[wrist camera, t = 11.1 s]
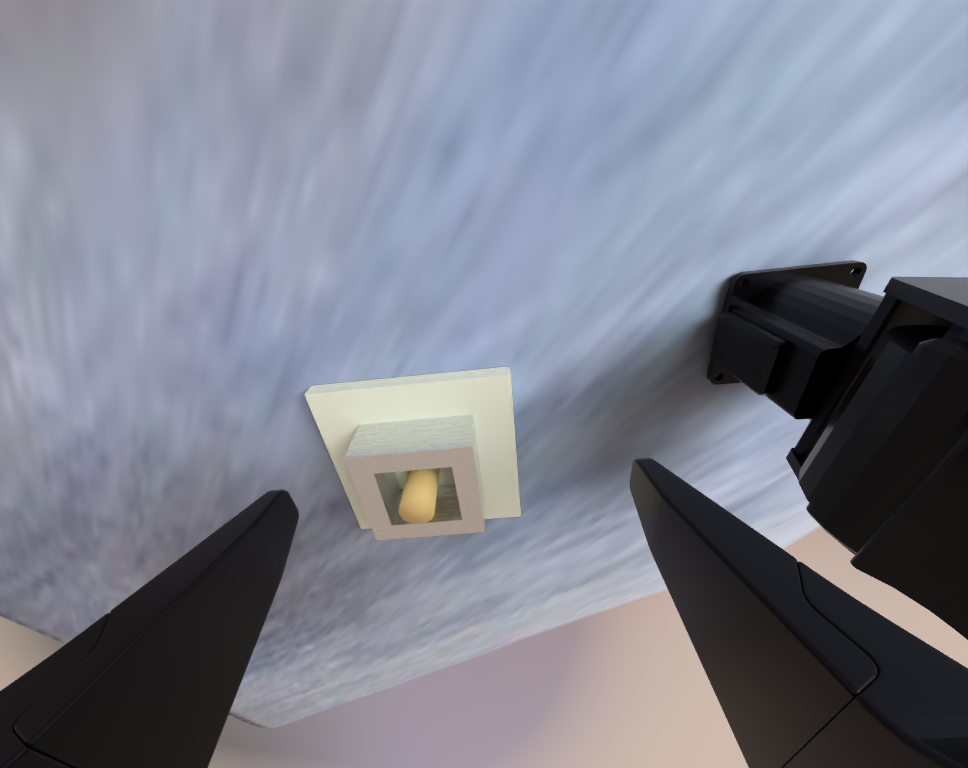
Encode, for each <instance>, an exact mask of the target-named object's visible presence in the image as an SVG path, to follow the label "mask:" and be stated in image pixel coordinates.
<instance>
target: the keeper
mask: <svg viewBox="0 0 968 768" xmlns="http://www.w3.org/2000/svg"><path fill="white" fill-rule="evenodd" d="M304 395H305V397H306V400H307V402H308V404H309V407H310V409H311V411H312V414H313V416H314V419H315V421H316V423H317V426H318V428H319V430H320V433H321V435H322V437H323V440H324V442H325V445H326V447H327V449H328V452H329V454H330V456H331V459H332V461H333V463H334V466H335V468H336V471H337V473H338V475H339V478H340V480H341V482H342V485H343V487H344V489H345V492H346V494H347V497H348V499H349V501H350V504H351V506H352V508H353V511H354V513H355V516H356V518H357V520H358V523H359V525H360V527H361V529H370V528H371V526H370V523H369V521H368V518H367V516H366V513H365V511H364V508H363V506H362V503H361V500H360V498H359V495H358V493H357V490H356V488H355V485H354V483H353V480H352V478H351V475H350V473H349V470H348V468H347V465H346V463H345V460H344V456H345V454H346V452H347V450H348V448H349V446H350V444H351V442H352V440H353V438H354V435H355V433H356V431H357V429H358V427H359V425H360V424H371V423H382V422H393V421H405V420H416V419H427V418H438V417H449V416H460V415H471V414H473V417H474V424H475V431H476V438H477V445H478V452H479V459H480V467H481V474H482V481H483V488H484V495H485V519H493V518H506V517H518V516H521V511H520V497H519V483H518V470H517V456H516V442H515V429H514V415H513V401H512V387H511V374H510V368H509V367H499V368H488V369H478V370H468V371H458V372H447V373H437V374H427V375H417V376H406V377H396V378H386V379H376V380H365V381H355V382H345V383H334V384H324V385H314V386H311V387H310V388H309V389H308V391H307V392H306V393H305V394H304ZM396 475H397V478H398V481H399V485H400V488H401V489H403V494H402V498H401V502H400V506H399V515H400V516H401V518H402V519H403V520H405V521H407V522H409V523H413V524H423V523H426V522H428V521H430V520H431V519H432V518H433V517H434V513H435V505H436V497H437V489H438V486H440V485H452V484H455V480H454V475H453V470H452V467H446V468H434V469H423V470H411V471H399V472H396Z"/></svg>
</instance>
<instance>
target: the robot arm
mask: <svg viewBox="0 0 968 768" xmlns="http://www.w3.org/2000/svg"><path fill="white" fill-rule="evenodd" d="M853 269H854V270H853ZM866 269H867V266H866V264H865V263H864V262H859V261H853V260H852V261H843V262H833V263H824V264H814V265H805V266H795V267H786V268H776V269H767V270H757V271H748V272H740V273H738V274H736V275H734V276H733V278H732V279H731V281H730V283H729V287H728V291H727V295H726V299H725V303H724V307H723V311H722V315H721V317H720V319H719V323H718V327H717V331H716V335H715V339H714V343H713V347H712V351H711V360H710V364H709V368H708V372H707V379H708V380H709V381H710V382H711V383H713V384H728V383H738V382H743V383H744V384H745V385H746V386H748V387H749V388H750V389H751V390H753V391H754V392H755V393H757V394H758V395H765V396H766V397H767V398H769V399H770V400H771V401H773V402H774V403H775V404H777V405H778V406H779V407H781V408H782V409H783V410H785V411H786V412H787V413H788V414H790V415H791V416H792V417H794V418H795V419H809V420H810V423H809V425H808V426H807V428H806V430H805V431H804V433H803V435H802V436H801V438H800V440H799V442H798V443H797V445H796V447H795V448H792V449H791V450H790V452H789V453H788V455H787V457H786V459H787V461H788V462H789V464H790V466H791V468H792V470H793V471H794V473H795V475H796V477H797V478H798V480H799V484H800V486H801V488H802V490H803V492H804V494H805V496H806V498H807V500H808V501H809V504H808V506H807V508H806V509H807V511H808V512H809V514H810V515H811V516H812V517H813V518H814V519H815V520H816V521H817V522H818V524H819V525H820V526H821V527H822V528H823V529H824V530H825V531H826V532H828V533H829V534H830V535H831V536H832V537H834V538H835V539H836V540H837V541H838V542H840V543H841V544H842V545H843V546H844V547H846V548H847V549H848V550H849V551H851V552H852V553H853V554H855V556H854V557H853V558H852V560H851V561H850V562H851V564H852V565H853V566H854V567H855V568H856V569H858V570H860V571H862V572H864V573H866V574H868V575H870V576H872V577H874V578H876V579H878V580H880V581H882V582H884V583H886V584H888V585H890V586H892V587H894V588H895V589H897V590H898V591H900V592H901V593H903V594H905V595H906V596H908V597H909V598H911V599H913V600H914V601H916V602H917V603H919V604H920V605H922V606H923V607H925V608H927V609H928V610H930V611H931V612H932V613H934V614H935V615H936V616H938V617H939V618H940V619H942V620H943V621H944V622H946V623H947V624H948V625H950V626H951V627H952V628H954V629H955V630H956V631H957V632H959V633H960V634H961V635H962V636H964V637H965V638H966V639H967V640H968V278H955V277H892V278H891V279H890V281H889V283H888V284H887V286H886V288H885V290H884V291H883V292H885V293H886V294H885V296H884V297H883V296H880V295H876V294H873V293H869V292H866V291H863V290H859V289H858V288H859V286H860V284H861V281H862V279H863V277H864V274H865V272H866ZM852 270H853V272H852V273H851V271H852ZM850 273H851V274H850ZM742 280H744V283H743V284H742V285H741V286H739V284H740V282H741V281H742ZM717 374H719V376H717V377H715V376H716V375H717ZM630 490H631V493H632V496H633V500H634V503H635V506H636V509H637V512H638V515H639V518H640V521H641V524H642V527H643V530H644V533H645V536H646V539H647V542H648V545H649V548H650V550H651V553H652V555H653V557H654V560H655V562H656V564H657V566H658V568H659V571H660V573H661V575H662V577H663V579H664V582H665V584H666V586H667V588H668V590H669V593H670V595H671V597H672V599H673V601H674V604H675V606H676V608H677V610H678V612H679V615H680V617H681V619H682V621H683V623H684V626H685V628H686V630H687V632H688V634H689V636H690V639H691V641H692V643H693V645H694V648H695V650H696V652H697V654H698V656H699V659H700V661H701V663H702V665H703V668H704V670H705V672H706V674H707V676H708V679H709V681H710V683H711V685H712V687H713V690H714V692H715V694H716V696H717V698H718V701H719V703H720V705H721V707H722V709H723V711H724V714H725V716H726V718H727V720H728V723H729V725H730V727H731V729H732V731H733V734H734V736H735V738H736V740H737V742H738V745H739V747H740V749H741V751H742V753H743V756H744V758H745V760H746V762H747V764H748V767H749V768H968V668H966V667H964V666H963V665H961V664H959V663H958V662H956V661H955V660H953V659H951V658H950V657H948V656H946V655H945V654H943V653H942V652H940V651H938V650H937V649H935V648H933V647H932V646H930V645H929V644H927V643H925V642H924V641H922V640H920V639H919V638H917V637H915V636H914V635H912V634H911V633H909V632H907V631H906V630H904V629H902V628H901V627H899V626H898V625H896V624H894V623H893V622H891V621H890V620H888V619H886V618H885V617H883V616H882V615H880V614H878V613H877V612H875V611H874V610H872V609H871V608H869V607H867V606H866V605H864V604H862V603H861V602H859V601H858V600H856V599H855V598H853V597H852V596H850V595H849V594H847V593H846V592H844V591H843V590H841V589H840V588H838V587H837V586H835V585H834V584H832V583H831V582H829V581H828V580H826V579H825V578H823V577H822V576H820V575H819V574H818V573H816V572H814V571H813V570H812V569H810V568H809V567H808V566H806V565H805V564H803V563H802V562H797V560H796V558H794V557H793V556H791V555H790V554H789V553H787V552H786V551H784V550H783V549H781V548H780V547H779V546H777V545H776V544H774V543H773V542H771V541H770V540H768V539H767V538H766V537H764V536H763V535H761V534H760V533H758V532H757V531H756V530H754V529H753V528H751V527H750V526H748V525H747V524H745V523H744V522H743V521H741V520H740V519H738V518H737V517H735V516H734V515H732V514H731V513H730V512H728V511H727V510H725V509H724V508H722V507H721V506H720V505H718V504H717V503H715V502H714V501H712V500H711V499H709V498H708V497H707V496H705V495H704V494H702V493H701V492H699V491H698V490H697V489H695V488H694V487H692V486H691V485H689V484H688V483H686V482H685V481H684V480H682V479H681V478H679V477H678V476H676V475H675V474H673V473H672V472H671V471H669V470H668V469H666V468H665V467H663V466H662V465H661V464H659V463H658V462H656V461H655V460H653V459H651V458H642V459H635V460H634V461H633V464H632V471H631V477H630ZM298 518H299V513H298V509H297V507H296V505H295V503H294V502H293V500H292V498H291V496H290V494H289V492H288V491H286V490H272V491H269V492H267V493H265V494H264V495H263V496H262V497H260V498H259V499H258V500H256V501H255V502H254V503H252V504H251V505H250V506H248V507H247V508H246V509H244V510H243V511H242V512H240V513H239V514H238V515H236V516H235V517H234V518H232V519H231V520H230V521H229V522H227V523H226V524H225V525H223V526H222V527H221V528H219V529H218V530H217V531H215V532H214V533H213V534H211V535H210V536H209V537H207V538H206V539H205V540H203V541H202V542H201V543H199V544H198V545H197V546H196V547H194V548H193V549H192V550H190V551H189V552H188V553H186V554H185V555H184V556H182V557H181V558H180V559H178V560H177V561H176V562H174V563H173V564H172V565H170V566H169V567H168V568H166V569H165V570H164V571H162V572H161V573H160V574H159V575H157V576H156V577H155V578H153V579H152V580H151V581H149V582H148V583H147V584H145V585H144V586H143V587H141V588H140V589H139V590H137V591H136V592H135V593H133V594H132V595H131V596H129V597H128V598H127V599H125V600H124V601H123V602H122V603H120V604H119V605H118V606H116V607H115V608H114V609H112V610H111V612H110V613H107V614H106V615H104V616H103V617H102V618H100V619H99V620H98V621H96V622H95V623H94V624H92V625H91V626H90V627H89V628H87V629H86V630H85V631H83V632H82V633H80V634H79V635H78V636H76V637H75V638H74V639H72V640H71V641H70V642H68V643H67V644H66V645H64V646H63V647H62V648H60V649H59V650H58V651H56V652H55V653H54V654H52V655H51V656H49V657H48V658H46V659H45V660H44V661H42V662H41V663H40V664H38V665H37V666H36V667H34V668H32V669H31V670H30V671H28V672H27V673H25V674H24V675H22V676H21V677H20V678H19V679H17V680H15V681H14V682H13V683H11V684H10V685H9V686H7V687H6V688H4V689H3V690H1V691H0V768H208V766H209V763H210V761H211V758H212V755H213V753H214V750H215V748H216V745H217V742H218V740H219V738H220V735H221V732H222V730H223V727H224V725H225V722H226V719H227V717H228V714H229V712H230V709H231V707H232V704H233V702H234V699H235V697H236V694H237V691H238V689H239V686H240V684H241V681H242V679H243V676H244V673H245V671H246V668H247V666H248V663H249V661H250V658H251V656H252V653H253V650H254V648H255V645H256V643H257V640H258V638H259V635H260V632H261V630H262V627H263V625H264V622H265V620H266V617H267V615H268V612H269V609H270V607H271V604H272V602H273V599H274V597H275V594H276V591H277V589H278V586H279V583H280V581H281V578H282V575H283V572H284V569H285V565H286V562H287V558H288V555H289V551H290V547H291V544H292V540H293V537H294V533H295V530H296V526H297V523H298Z"/></svg>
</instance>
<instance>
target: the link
mask: <svg viewBox="0 0 968 768" xmlns="http://www.w3.org/2000/svg"><path fill="white" fill-rule="evenodd" d="M344 460H345V463H346V465H347V468H348V470H349V473H350V475H351V478H352V480H353V483H354V485H355V488H356V490H357V493H358V495H359V498H360V500H361V503H362V506H363V508H364V511H365V513H366V516H367V518H368V521H369V523H370V526H371V528H372V531H373V533H374V536H375V538H376V541H377V540H390V539H402V538H415V537H428V536H441V535H453V534H466V533H479V532H485V495H484V488H483V481H482V474H481V467H480V459H479V452H478V445H477V438H476V431H475V424H474V417H473V414H471V415H460V416H449V417H438V418H427V419H416V420H405V421H393V422H382V423H371V424H360V425H359V427H358V429H357V431H356V433H355V435H354V438H353V440H352V442H351V444H350V446H349V448H348V450H347V452H346V454H345V456H344ZM446 467H452V470H453V475H454V480H455V484H452V485H440V486H438V489H437V497H436V505H435V513H434V517H433V518H432V519H431V520H430V521H428V522H426V523H423V524H413V523H409V522H407V521H405V520H403V519H402V518H401V516H400V515H399V506H400V502H401V498H402V494H403V489H401V488H400V485H399V481H398V478H397V475H396V472H399V471H411V470H423V469H434V468H446Z"/></svg>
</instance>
